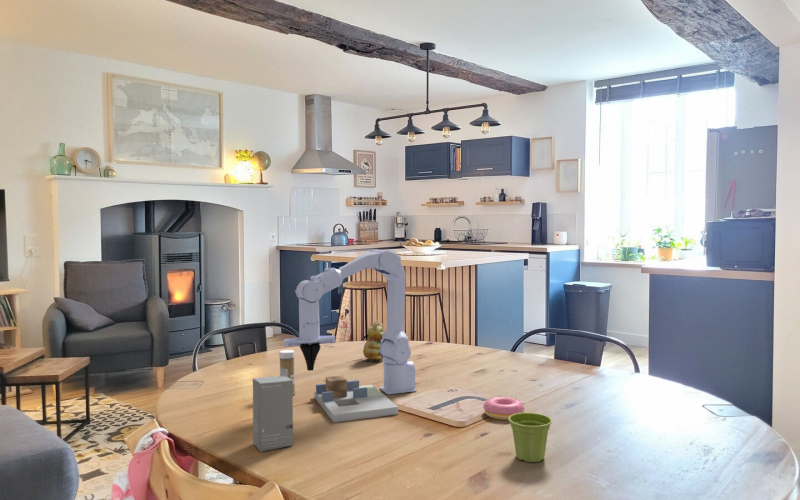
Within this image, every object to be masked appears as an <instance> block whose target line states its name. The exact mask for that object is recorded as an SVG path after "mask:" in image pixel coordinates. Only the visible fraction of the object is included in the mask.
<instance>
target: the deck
mask: <svg viewBox="0 0 800 500" xmlns="http://www.w3.org/2000/svg"><path fill="white" fill-rule="evenodd" d="M313 394H314V395H313V396H314V399H315V400H316V402H317V403H318V404H319V405H320V406H321V408H322V409H323V410H324V412H325V413H326V414H327V416H328V417H329V419H330V420H331V421H332V422H333V423H338V422H347V421H355V420H363V419H371V418H377V417H385V416H393V415H399V406H398V405H397V404H395V402H393V401H392V400H391V399H389V398H388V396H386V395H385V394H384V393H382V392H381V391H380V390H379V389H378V388H377V387H376V386H375V385H373V384H365V385H364V384H363V385H360V380H358V379H356V380H347V397H340V398H333V391H327V392H326V382H325V383H320V384H319V383H317V384H315V390H314V393H313Z"/></svg>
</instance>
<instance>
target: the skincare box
mask: <svg viewBox="0 0 800 500" xmlns="http://www.w3.org/2000/svg"><path fill="white" fill-rule="evenodd" d="M293 396H294V395H293V383H292V380H291V379H290V378H288V377H286V376H280V375H277V376H276V375H275V376H271V375H270V376H264V377H256V378H255V377H253V378H252V443H253V444H254V446H255V447H256V448H257V449H258V450H259V452H260V453H261V452H265V451H266V452H267V451H271V450H277V449H281V448H287V447H292V446H293V445H294V433H293V432H294V419H293V418H294V412H293V411H294V407H293V401H294V398H293Z"/></svg>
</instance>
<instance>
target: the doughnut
mask: <svg viewBox="0 0 800 500" xmlns="http://www.w3.org/2000/svg"><path fill="white" fill-rule="evenodd" d="M524 406H525V405H524V403H523V402H522V401H520V400H519V399H517V398H513V397H509V396H501V395H500V396H496V397H495V396H493V397H490V398H488V399H486V401H485V402H484V403H483V411H484V410H485V411H484V413H485V412H486V413H485V414H486V416H488V417H489V418H491V419H494V420H499V421H500V420H501V421H502V420H503V421H509V420H508V418H509V416H511V415H513V414H517V413H525V407H524Z"/></svg>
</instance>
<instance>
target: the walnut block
mask: <svg viewBox="0 0 800 500" xmlns="http://www.w3.org/2000/svg"><path fill="white" fill-rule="evenodd" d="M347 381H348V380H347V378H346V377H344V376H343V375H334V376H332V375H331V376H326V377H325V383H326V392H327V391H333V398H340V397H347Z"/></svg>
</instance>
